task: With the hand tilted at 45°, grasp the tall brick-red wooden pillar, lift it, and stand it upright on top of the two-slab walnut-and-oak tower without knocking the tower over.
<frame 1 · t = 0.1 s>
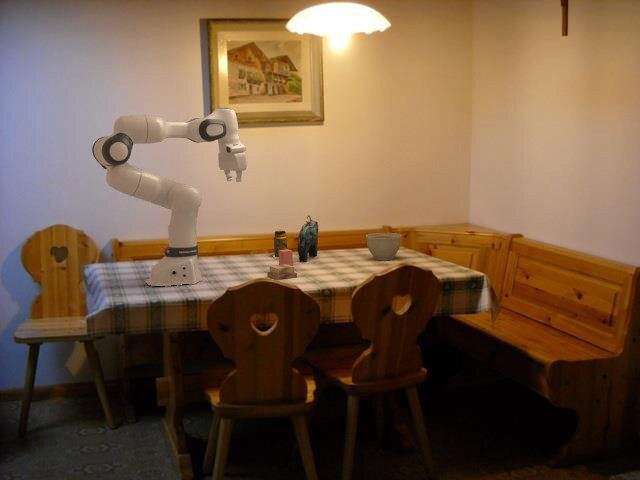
hand: (234, 181, 314), 39 cm above the table, tool pointing down, fingers open, 8 cm apart
condiment: (279, 256, 363), on the table
oak top slab: (282, 272, 313), point 2 cm above the table, touching walnut base slab
brick-red pillar: (286, 271, 325), on the table
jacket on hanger: (309, 259, 354), on the table
planter bowl: (383, 259, 351), on the table
walnut base slab: (282, 278, 313), on the table, touching oak top slab
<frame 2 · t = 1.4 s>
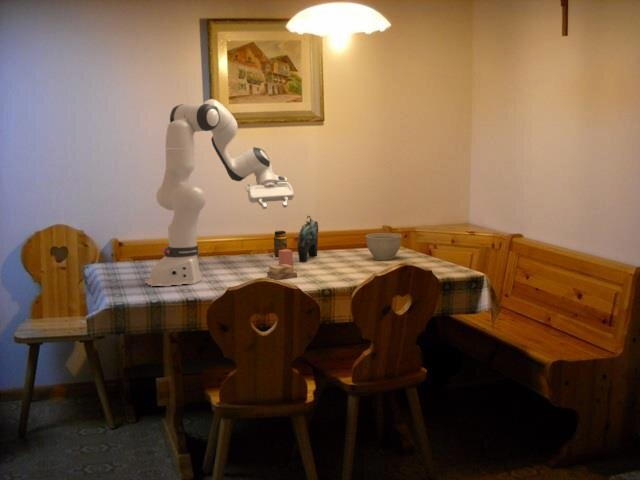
hand: (275, 207, 332), 26 cm above the table, tool tilted 45°, fingers open, 8 cm apart
nothing on the table moved.
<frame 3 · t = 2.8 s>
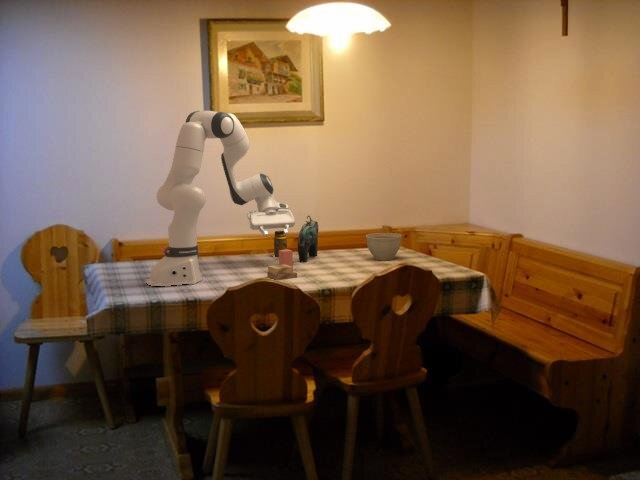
hand: (276, 234, 333), 14 cm above the table, tool tilted 45°, fingers open, 8 cm apart
nothing on the table moved.
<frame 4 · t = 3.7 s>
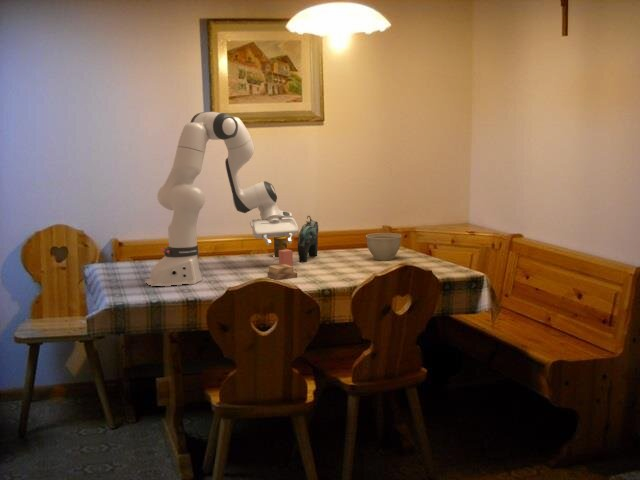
hand: (279, 243, 330), 11 cm above the table, tool tilted 45°, fingers open, 8 cm apart
nothing on the table moved.
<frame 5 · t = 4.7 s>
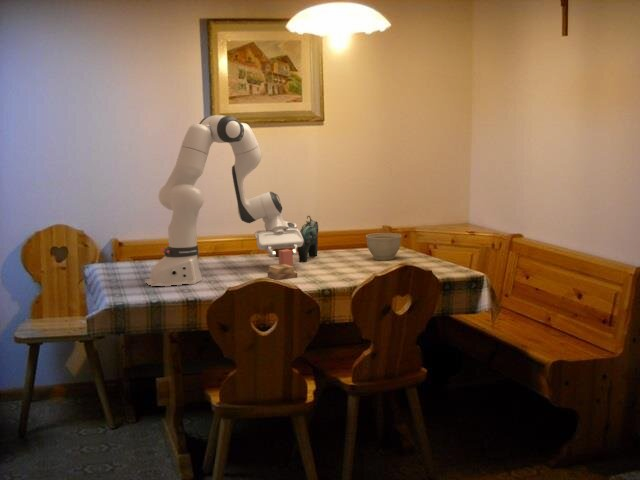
hand: (284, 255, 325), 7 cm above the table, tool tilted 45°, fingers open, 8 cm apart
nothing on the table moved.
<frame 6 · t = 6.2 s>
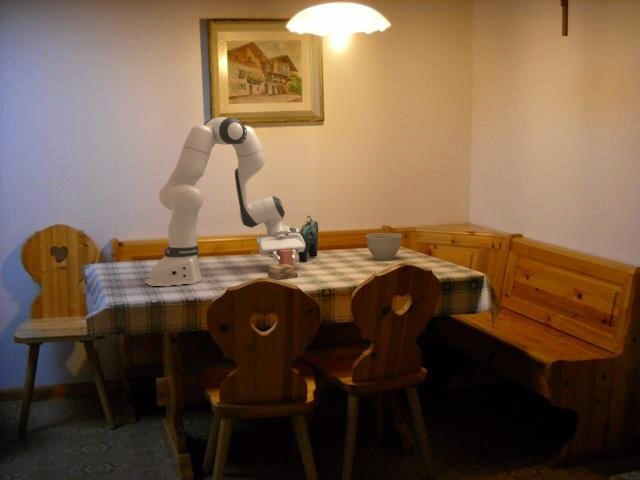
hand: (286, 260, 323), 5 cm above the table, tool tilted 45°, fingers closed on brick-red pillar, 5 cm apart
brick-red pillar: (286, 271, 325), on the table, touching gripper
everything else where it was.
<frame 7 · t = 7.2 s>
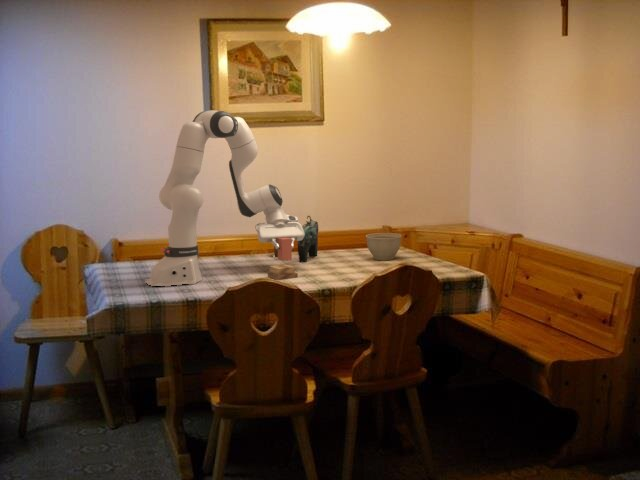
hand: (285, 248, 322), 10 cm above the table, tool tilted 45°, fingers closed on brick-red pillar, 5 cm apart
oak top slab: (282, 272, 312), point 2 cm above the table
brick-red pillar: (284, 259, 324), point 5 cm above the table, touching gripper
walnut base slab: (282, 278, 313), on the table
everything else where it was.
when the fingers open (11 cm above the table, at t = 11.1 s): brick-red pillar drops 2 cm, point 4 cm above the table.
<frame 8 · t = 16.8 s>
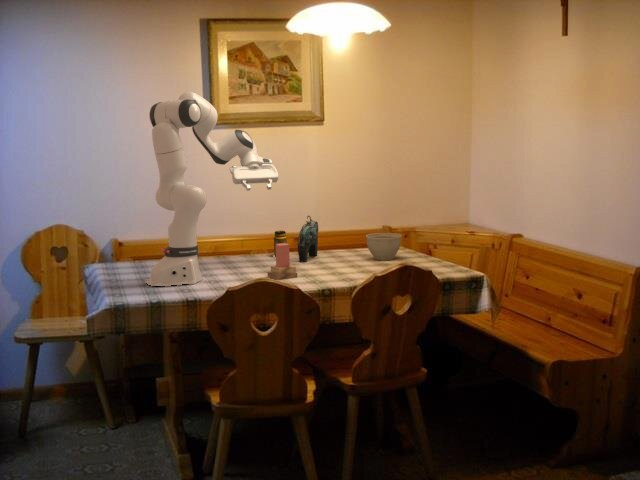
hand: (259, 189, 329), 34 cm above the table, tool tilted 45°, fingers open, 8 cm apart
oak top slab: (283, 272, 313), point 2 cm above the table, touching walnut base slab
brick-red pillar: (282, 266, 312), point 4 cm above the table
walnut base slab: (282, 278, 313), on the table, touching oak top slab
everything else where it was.
at the end: brick-red pillar 0.1 cm off-centre on the walnut base slab, point 5.0 cm above the walnut base slab's base; oak top slab 0.3 cm off-centre on the walnut base slab, point 2.5 cm above the walnut base slab's base; brick-red pillar tilted 1° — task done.
